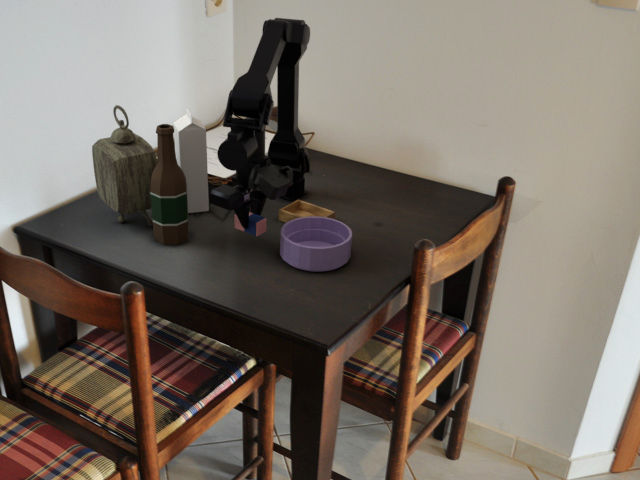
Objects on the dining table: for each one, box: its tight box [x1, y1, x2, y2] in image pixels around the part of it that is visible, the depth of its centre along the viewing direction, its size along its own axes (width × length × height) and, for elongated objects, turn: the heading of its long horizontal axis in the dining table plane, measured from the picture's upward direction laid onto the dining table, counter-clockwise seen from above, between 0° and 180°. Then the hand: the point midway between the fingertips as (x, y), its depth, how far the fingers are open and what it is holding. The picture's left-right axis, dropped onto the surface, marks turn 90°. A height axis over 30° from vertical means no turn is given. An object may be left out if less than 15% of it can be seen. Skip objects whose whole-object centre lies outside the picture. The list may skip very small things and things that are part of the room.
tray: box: [278, 199, 336, 223], centre depth 167 cm, size 10×7×2 cm
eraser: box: [234, 211, 267, 237], centre depth 155 cm, size 6×3×3 cm, turn 52°
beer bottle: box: [150, 123, 190, 246], centre depth 153 cm, size 8×8×24 cm
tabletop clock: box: [91, 104, 158, 227], centre depth 159 cm, size 14×9×25 cm, turn 33°
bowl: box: [279, 216, 353, 273], centre depth 153 cm, size 14×14×6 cm
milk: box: [173, 107, 210, 214], centre depth 166 cm, size 6×6×22 cm
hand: (250, 225), depth 155 cm, fingers closed on eraser, 3 cm apart
